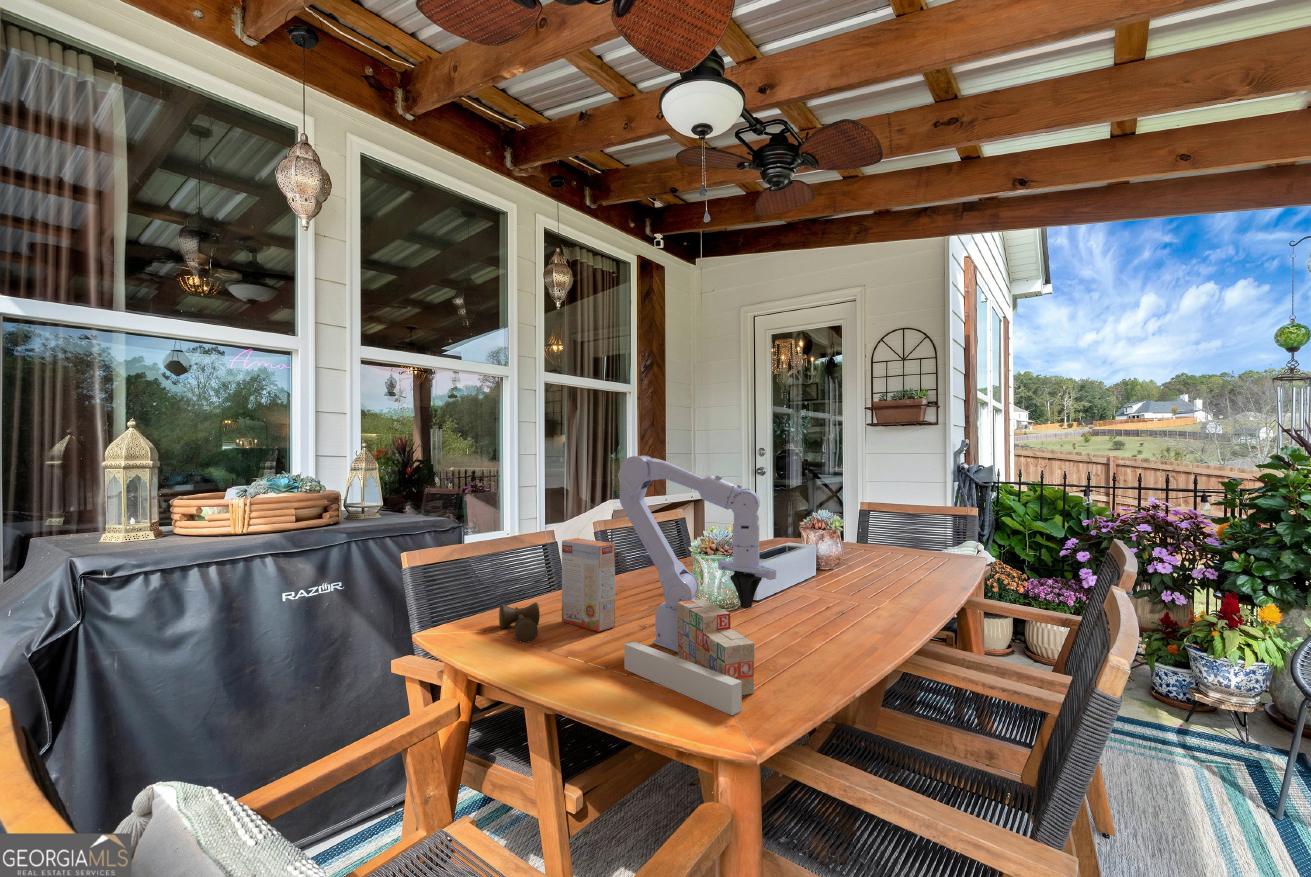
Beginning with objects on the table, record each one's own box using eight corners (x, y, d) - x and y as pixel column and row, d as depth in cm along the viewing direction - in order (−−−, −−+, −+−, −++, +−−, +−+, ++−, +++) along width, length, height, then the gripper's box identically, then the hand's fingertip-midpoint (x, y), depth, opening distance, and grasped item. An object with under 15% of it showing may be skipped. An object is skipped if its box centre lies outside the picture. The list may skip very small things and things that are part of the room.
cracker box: (616, 627, 147) (616, 542, 147) (598, 633, 142) (598, 545, 142) (578, 616, 156) (578, 536, 156) (560, 621, 151) (560, 539, 152)
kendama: (505, 648, 134) (496, 620, 153) (547, 644, 137) (534, 617, 156) (505, 621, 134) (497, 597, 153) (548, 618, 137) (535, 595, 156)
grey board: (624, 668, 119) (624, 643, 119) (633, 665, 121) (633, 641, 121) (732, 715, 99) (731, 685, 99) (741, 710, 100) (741, 681, 100)
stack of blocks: (755, 694, 107) (754, 625, 108) (724, 699, 105) (723, 629, 105) (703, 655, 127) (703, 597, 128) (676, 659, 125) (676, 600, 125)
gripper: (784, 546, 127) (784, 610, 127) (732, 539, 138) (732, 597, 138) (764, 551, 123) (764, 617, 122) (711, 542, 133) (712, 603, 133)
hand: (746, 607), depth 130 cm, fingers closed
